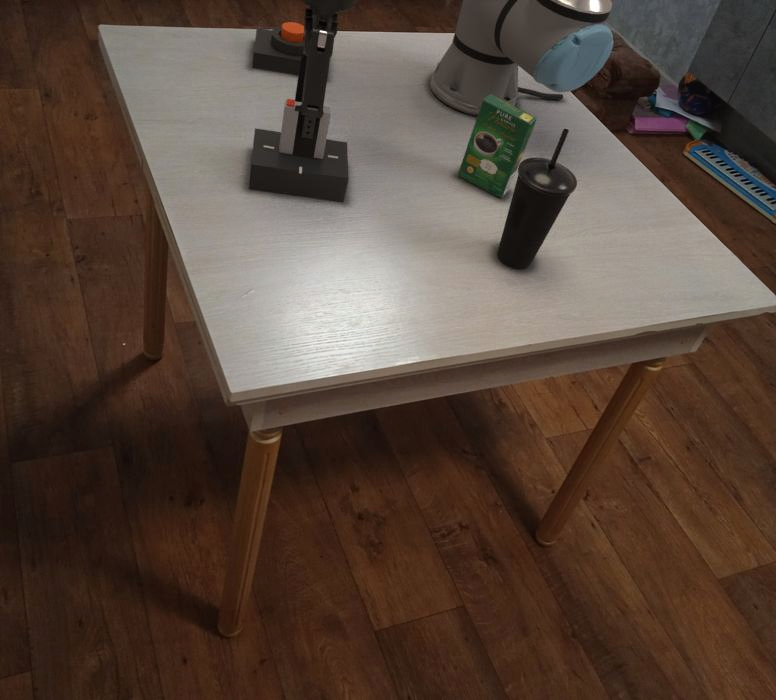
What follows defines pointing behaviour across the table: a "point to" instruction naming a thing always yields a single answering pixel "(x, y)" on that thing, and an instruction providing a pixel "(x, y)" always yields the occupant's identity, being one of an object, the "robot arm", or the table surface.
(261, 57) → the button block
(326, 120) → the grey upright slab
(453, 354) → the table surface
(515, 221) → the drinking cup
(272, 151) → the panel
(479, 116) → the coffee box
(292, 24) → the button
